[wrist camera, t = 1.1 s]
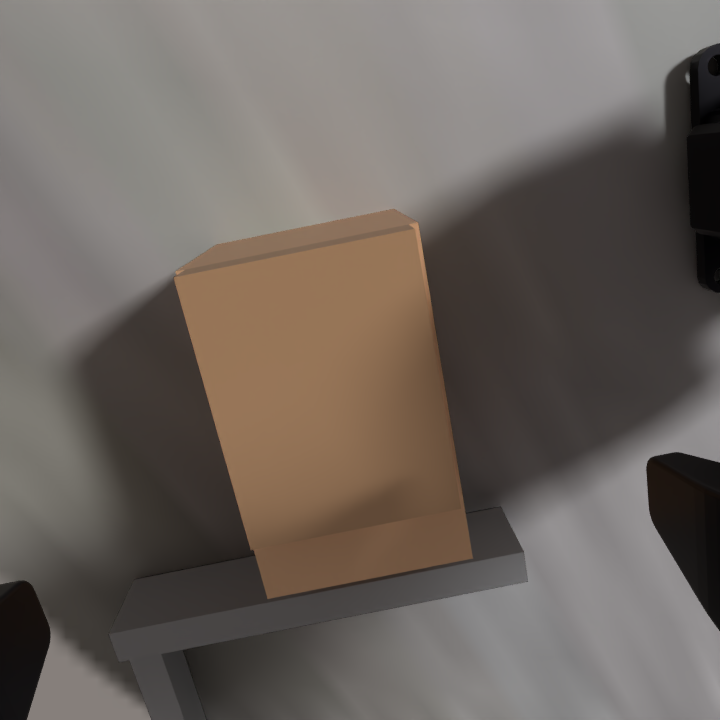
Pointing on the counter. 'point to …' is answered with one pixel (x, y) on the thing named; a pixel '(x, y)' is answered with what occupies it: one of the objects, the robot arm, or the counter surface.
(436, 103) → the counter surface
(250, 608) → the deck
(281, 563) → the brown cardboard carton
